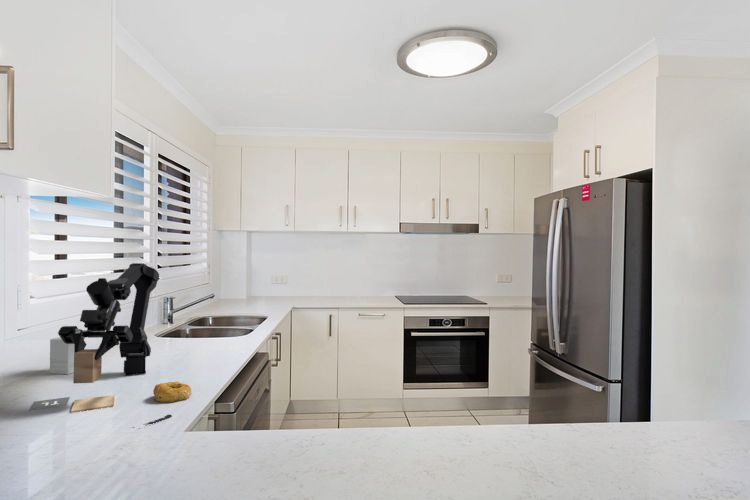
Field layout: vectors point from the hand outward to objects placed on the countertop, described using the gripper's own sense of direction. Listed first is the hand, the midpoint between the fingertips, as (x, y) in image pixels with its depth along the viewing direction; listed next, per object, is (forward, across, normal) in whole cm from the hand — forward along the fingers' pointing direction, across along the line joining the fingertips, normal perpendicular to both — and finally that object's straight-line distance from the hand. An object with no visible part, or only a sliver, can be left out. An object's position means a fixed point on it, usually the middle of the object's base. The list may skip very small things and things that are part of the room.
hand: (85, 359), depth 122 cm
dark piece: (+22, +20, -2) cm, 30 cm away
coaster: (+9, +2, +10) cm, 14 cm away
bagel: (+6, +22, +14) cm, 27 cm away
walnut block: (+4, 0, +6) cm, 7 cm away
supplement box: (-18, -26, +38) cm, 49 cm away
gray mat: (+7, -11, +12) cm, 18 cm away
